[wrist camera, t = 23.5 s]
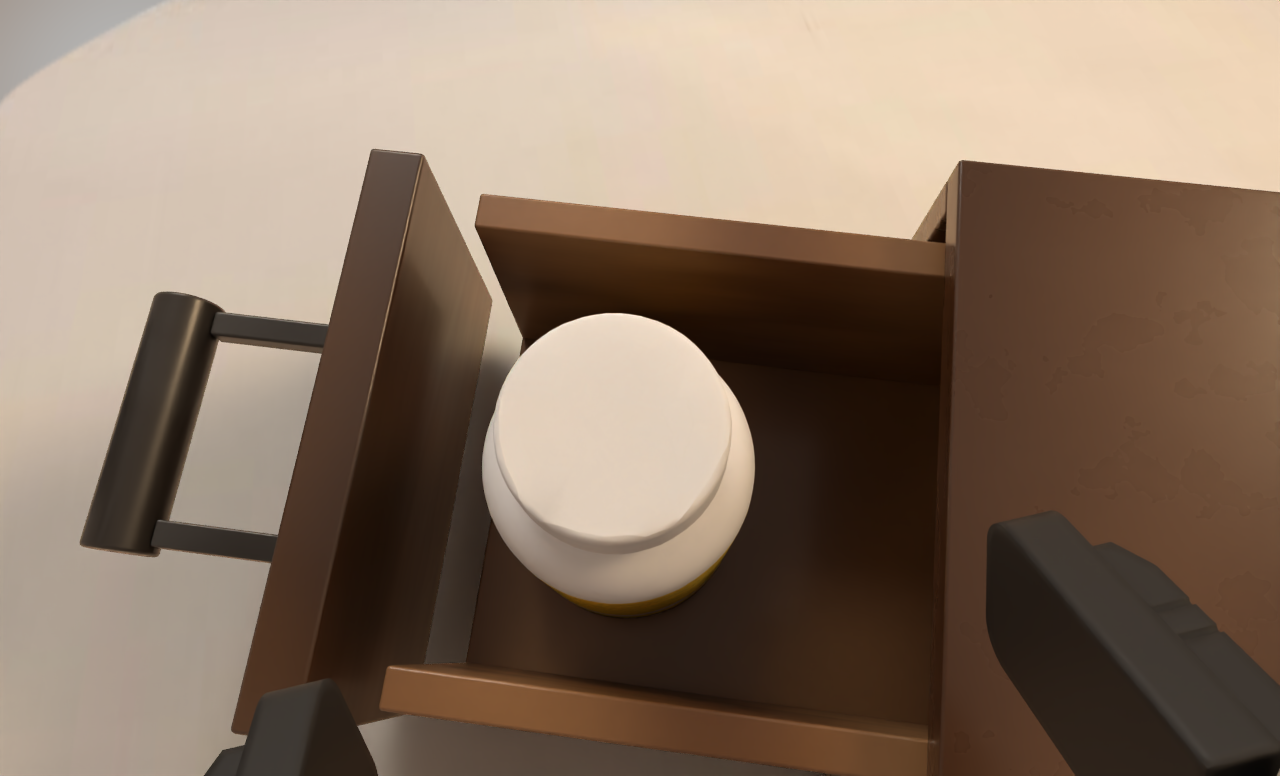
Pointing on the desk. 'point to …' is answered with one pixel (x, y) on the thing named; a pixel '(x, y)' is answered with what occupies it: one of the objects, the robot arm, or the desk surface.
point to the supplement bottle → (618, 464)
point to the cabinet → (1100, 413)
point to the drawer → (423, 505)
